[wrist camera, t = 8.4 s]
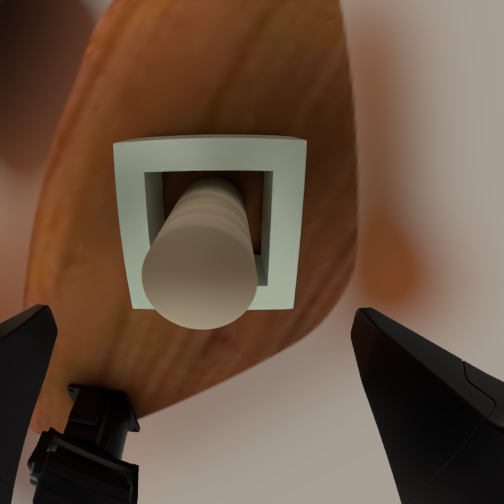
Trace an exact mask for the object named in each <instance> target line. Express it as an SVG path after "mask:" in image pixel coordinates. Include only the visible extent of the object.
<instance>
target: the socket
mask: <svg viewBox="0 0 504 504" xmlns="http://www.w3.org/2000/svg"><path fill="white" fill-rule="evenodd" d="M113 149H114V168H115V182H116V195H117V205H118V215H119V224H120V232H121V240H122V247H123V254H124V261H125V268H126V274H127V280H128V285H129V291H130V296H131V302H132V307H133V309H155V308H154V307H153V306H152V305H151V303H150V302H149V300H148V298H147V296H146V294H145V292H144V289H143V285H142V277H141V274H142V266H143V262H144V259H145V257H146V255H147V253H148V251H149V249H150V248H151V246H152V244H153V242H154V241H155V239H156V237H157V235H158V234H159V232H160V230H161V229H162V227H163V225H164V223H165V217H164V200H163V180H162V172H165V171H202V170H253V171H264V182H263V209H262V235H261V255H254V260H255V265H256V271H257V280H258V283H257V290H256V294H255V297H254V299H253V301H252V303H251V305H250V306H249V308H248V309H247V310H266V309H293V305H294V296H295V286H296V276H297V266H298V256H299V245H300V234H301V222H302V209H303V196H304V181H305V166H306V149H307V141H306V140H303V139H299V138H295V137H292V136H275V135H234V134H218V135H178V136H158V137H143V138H135V139H130V140H126V141H121V142H117V143H113Z"/></svg>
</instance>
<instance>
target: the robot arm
mask: <svg viewBox="0 0 504 504" xmlns="http://www.w3.org/2000/svg"><path fill="white" fill-rule="evenodd" d="M57 333H58V331H57V326H56V323H55V320H54V317H53V314H52V311H51V309H50V307H49V306H47V305H39V304H38V305H35V306H33V307H31V308H29V309H27V310H25V311H23V312H21V313H19V314H17V315H16V316H14V317H12V318H10V319H8V320H6V321H4V322H2V323H0V504H11V501H12V495H13V488H14V484H15V479H16V474H17V470H18V465H19V461H20V457H21V453H22V449H23V445H24V441H25V438H26V434H27V431H28V427H29V424H30V421H31V417H32V414H33V411H34V408H35V405H36V402H37V399H38V396H39V393H40V390H41V387H42V385H43V382H44V379H45V376H46V373H47V369H48V366H49V362H50V358H51V355H52V351H53V348H54V344H55V341H56V338H57ZM351 341H352V344H353V348H354V352H355V356H356V361H357V365H358V369H359V373H360V377H361V381H362V384H363V387H364V390H365V393H366V395H367V399H368V401H369V404H370V407H371V410H372V413H373V415H374V418H375V421H376V424H377V427H378V430H379V433H380V436H381V439H382V442H383V445H384V448H385V451H386V454H387V457H388V461H389V464H390V467H391V470H392V473H393V477H394V480H395V483H396V486H397V490H398V493H399V496H400V500H401V503H402V504H504V382H503V381H501V380H499V379H497V378H495V377H493V376H491V375H489V374H487V373H485V372H483V371H481V370H480V369H478V368H476V367H474V366H472V365H471V364H469V363H467V362H466V361H462V359H460V358H459V357H457V356H455V355H453V354H452V353H450V352H448V351H446V350H445V349H443V348H441V347H439V346H438V345H436V344H434V343H432V342H431V341H429V340H427V339H426V338H424V337H422V336H420V335H418V334H417V333H415V332H413V331H412V330H410V329H408V328H406V327H404V326H403V325H401V324H399V323H398V322H396V321H394V320H392V319H390V318H389V317H387V316H385V315H384V314H382V313H380V312H378V311H377V310H375V309H373V308H370V307H368V308H359V309H357V311H356V313H355V318H354V322H353V326H352V330H351ZM67 390H68V392H69V394H70V396H71V398H72V400H73V401H74V404H73V407H72V409H71V411H70V414H69V417H68V422H67V424H66V427H65V430H64V432H63V434H61V433H59V432H58V431H56V429H54V428H52V427H50V429H49V431H48V432H47V431H43V432H42V434H41V437H40V439H39V441H38V444H37V446H36V448H35V449H34V451H33V453H32V455H31V456H30V458H29V460H28V463H27V466H28V468H29V470H30V476H31V479H30V484H32V485H34V486H36V490H35V494H34V498H33V504H137V500H138V472H139V466H138V465H136V464H130V463H128V462H125V461H122V460H121V458H122V453H123V449H124V445H125V440H126V436H127V432H128V431H131V432H139V431H140V426H139V424H138V421H137V419H136V416H135V414H134V411H133V409H132V406H131V404H130V401H129V399H128V396H127V394H126V393H124V392H122V391H114V390H106V389H98V388H91V387H84V386H78V385H72V384H69V385H68V387H67Z"/></svg>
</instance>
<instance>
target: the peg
mask: <svg viewBox="0 0 504 504" xmlns="http://www.w3.org/2000/svg"><path fill="white" fill-rule="evenodd" d="M141 277H142V285H143V289H144V292H145V294H146V296H147V298H148V300H149V302H150V303H151V305H152V306H153V307H154V308H155V309H156V311H157V312H158V313H160V314H161V315H162V316H163V317H165V318H166V319H168V320H169V321H171V322H173V323H175V324H177V325H180V326H183V327H186V328H191V329H213V328H218V327H222V326H224V325H227V324H229V323H231V322H233V321H235V320H236V319H237V318H239V317H240V316H241V315H242V314H243V313H245V311H246V310H247V309H248V308H249V306H250V305H251V303H252V301H253V299H254V297H255V294H256V290H257V283H258V280H257V271H256V265H255V260H254V254H253V248H252V243H251V237H250V231H249V226H248V220H247V214H246V209H245V203H244V199H243V196H242V194H241V192H240V191H239V189H238V188H237V187H236V186H235V185H234V184H233V183H231V182H230V181H228V180H226V179H224V178H220V177H214V176H210V177H203V178H200V179H198V180H196V181H194V182H193V183H191V184H190V185H189V186H188V187H187V188H186V189H185V191H184V192H183V194H182V195H181V197H180V199H179V200H178V202H177V204H176V205H175V207H174V208H173V210H172V212H171V213H170V215H169V217H168V218H167V220H166V222H165V223H164V225H163V227H162V229H161V230H160V232H159V234H158V235H157V237H156V239H155V241H154V242H153V244H152V246H151V248H150V249H149V251H148V253H147V255H146V257H145V259H144V262H143V266H142V274H141Z"/></svg>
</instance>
